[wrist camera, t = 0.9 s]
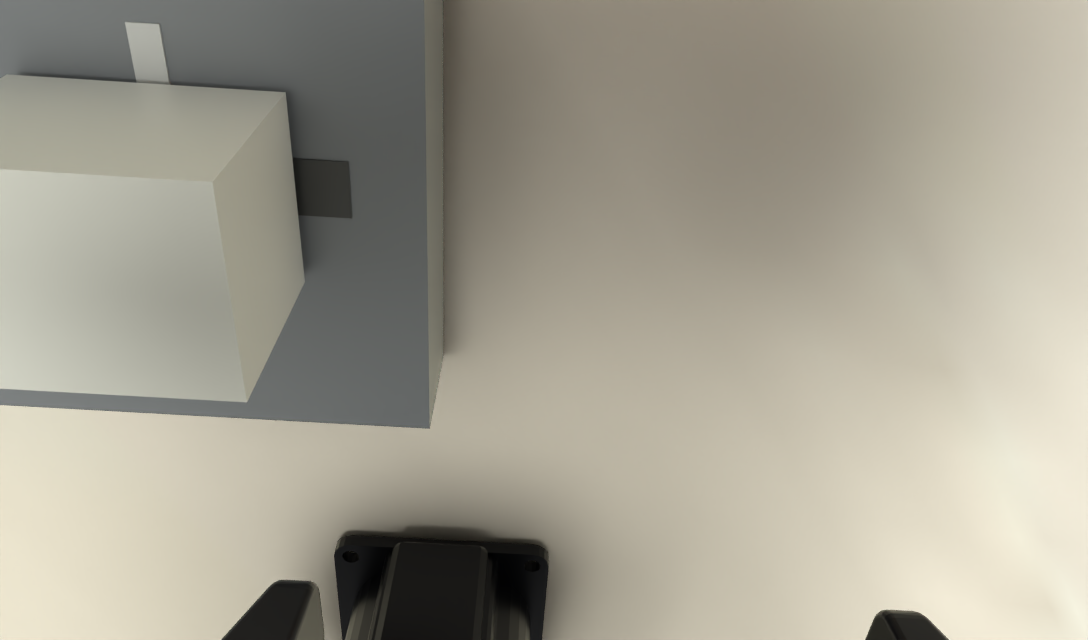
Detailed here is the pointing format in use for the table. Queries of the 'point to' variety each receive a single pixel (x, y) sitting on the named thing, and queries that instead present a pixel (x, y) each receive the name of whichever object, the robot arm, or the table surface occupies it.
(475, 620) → the robot arm
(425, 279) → the console
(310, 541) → the table surface
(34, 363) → the fader tab
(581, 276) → the table surface
